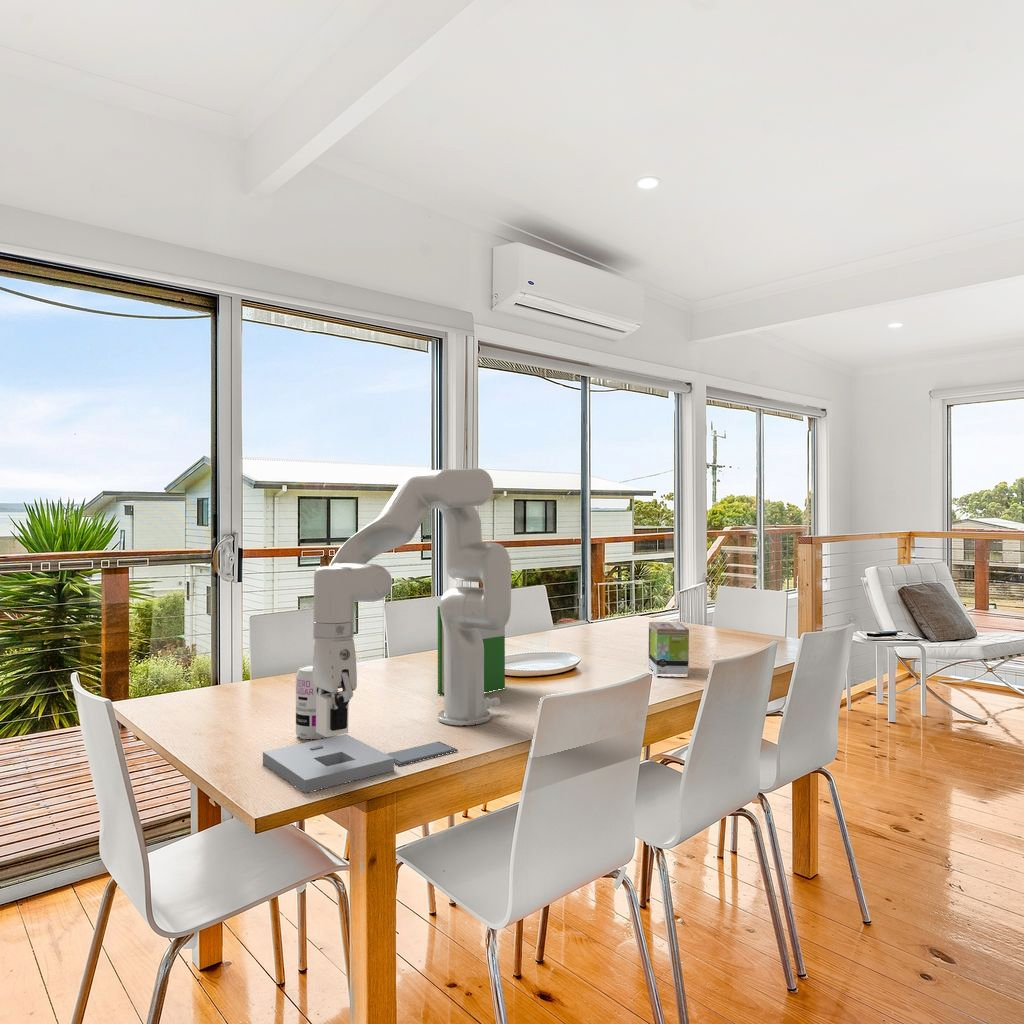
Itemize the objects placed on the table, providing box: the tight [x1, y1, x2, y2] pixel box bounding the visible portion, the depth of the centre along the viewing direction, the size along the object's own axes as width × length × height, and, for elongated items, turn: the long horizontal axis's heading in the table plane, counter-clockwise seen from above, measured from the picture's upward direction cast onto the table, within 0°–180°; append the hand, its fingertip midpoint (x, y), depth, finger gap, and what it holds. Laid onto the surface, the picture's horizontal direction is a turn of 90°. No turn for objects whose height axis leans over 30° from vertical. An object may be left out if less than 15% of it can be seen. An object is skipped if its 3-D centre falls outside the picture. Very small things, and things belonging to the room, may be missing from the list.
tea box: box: [647, 621, 690, 676], centre depth 228 cm, size 15×10×15 cm
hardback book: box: [437, 605, 506, 695], centre depth 203 cm, size 18×7×24 cm, turn 131°
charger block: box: [316, 693, 349, 738], centre depth 141 cm, size 4×4×7 cm
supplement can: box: [295, 664, 325, 741], centre depth 165 cm, size 8×8×15 cm
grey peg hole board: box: [262, 733, 395, 794], centre depth 144 cm, size 18×20×3 cm
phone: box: [386, 740, 459, 767], centre depth 152 cm, size 14×7×1 cm, turn 129°
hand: (332, 725), depth 141 cm, fingers closed on charger block, 4 cm apart
